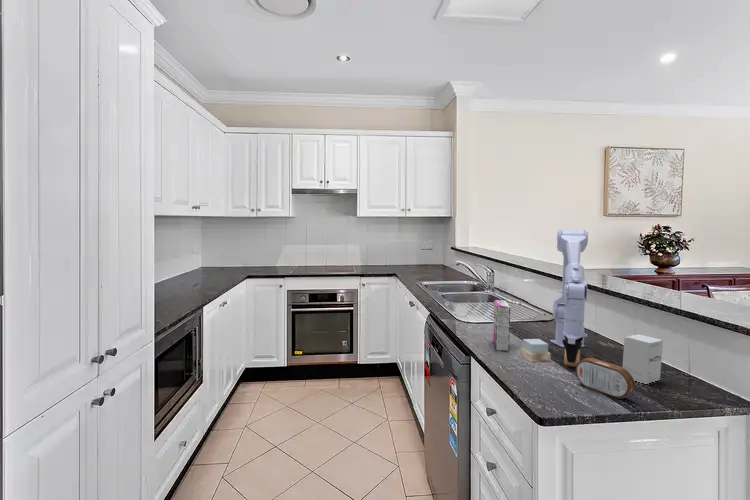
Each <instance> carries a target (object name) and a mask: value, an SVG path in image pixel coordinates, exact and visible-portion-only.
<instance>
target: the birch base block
mask: <svg viewBox="0 0 750 500" xmlns="http://www.w3.org/2000/svg"><path fill="white" fill-rule="evenodd" d="M520 356H521V357H523V358H525V360H528V361H529V362H531V363H535V362H536V363H537V362H538V363H540V362H551V358H552V355H551V352H549V351H548V353H530V352H528V351H527V350H525V349H524V348H522V347H520Z"/></svg>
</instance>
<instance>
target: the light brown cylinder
mask: <svg viewBox="0 0 750 500" xmlns="http://www.w3.org/2000/svg"><path fill="white" fill-rule="evenodd" d="M563 355H564V356H563V357H564V359H563V364H564V365H566V366H570V367H575V368H576V365H577V364H578V362H580V361H581V360H580V357H581V350H580V349H579V350H578V353H577V357H576V361H575V363H572V362H568V361H567V355H566V350H565V349H564V354H563Z"/></svg>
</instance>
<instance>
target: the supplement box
mask: <svg viewBox="0 0 750 500" xmlns="http://www.w3.org/2000/svg"><path fill="white" fill-rule="evenodd" d="M623 339H624V340H623V341H624V342H623V354H622V366H621V367H622V368H624V369H626V370H627V371H628V372H629V373H630V374H631V375H632V377H633V379H634V382H635V381H637V382H636V383H638V382H640V383H639V384H641V383H644V384H648V385H650V384H649V383H651V382H654V383H656V382H655V381H658V380H661V371H662V369H661V368H662V358H663V357H662V356H663V347H664V346H663V343H664V341H663V340H664V339H660V338H656V337H652V336H648V335H643V334H638V333H637V334H633V335H628V336H624V338H623ZM658 382H659V381H658ZM651 384H652V383H651Z"/></svg>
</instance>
